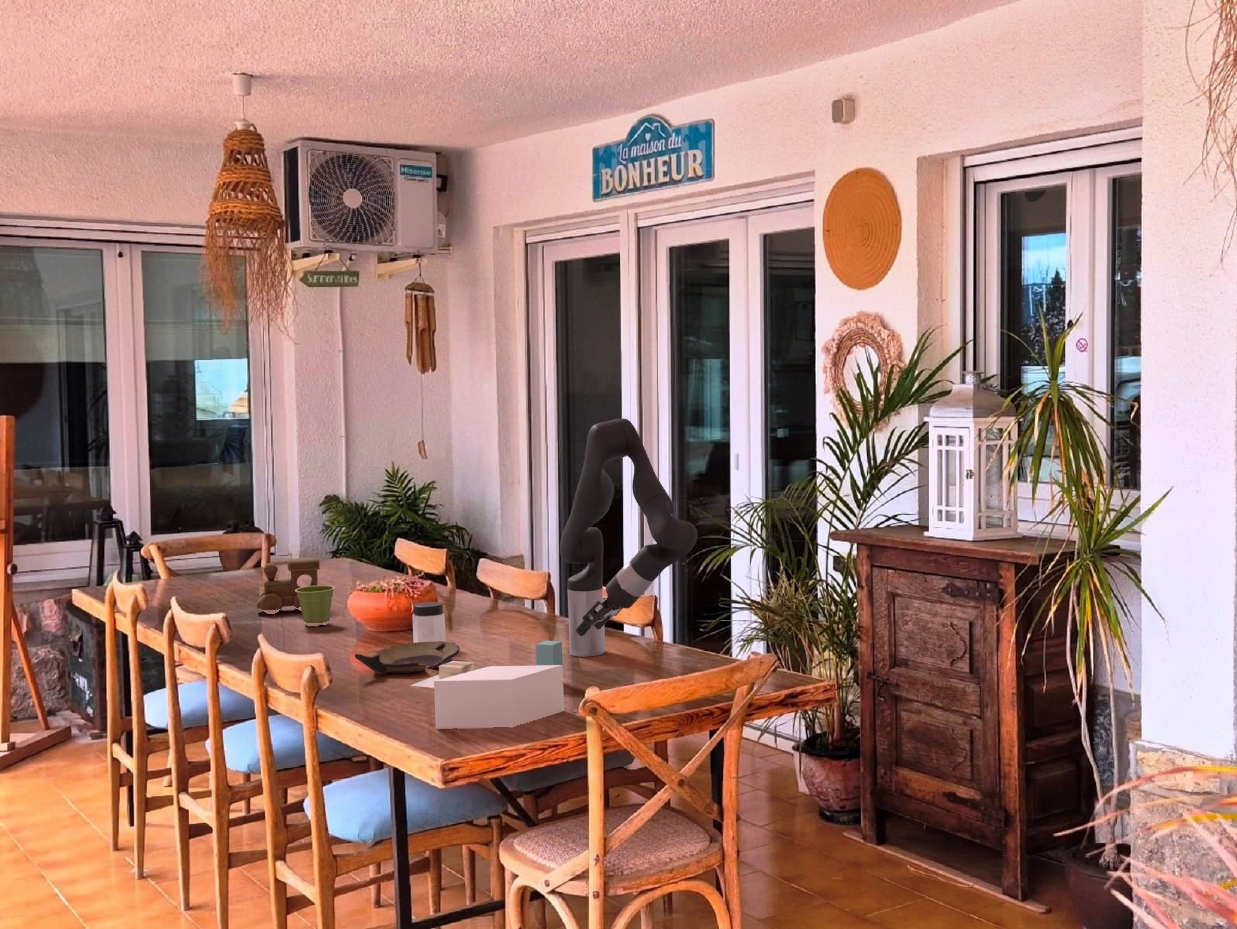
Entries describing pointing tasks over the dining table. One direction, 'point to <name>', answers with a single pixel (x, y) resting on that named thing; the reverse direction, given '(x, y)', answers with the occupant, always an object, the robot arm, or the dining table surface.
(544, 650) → the tall block
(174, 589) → the dining table surface
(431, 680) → the build board
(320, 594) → the plant pot
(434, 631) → the jar
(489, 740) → the dining table surface
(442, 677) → the lower block
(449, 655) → the oil lamp
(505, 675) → the wide white block
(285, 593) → the wooden toy train
